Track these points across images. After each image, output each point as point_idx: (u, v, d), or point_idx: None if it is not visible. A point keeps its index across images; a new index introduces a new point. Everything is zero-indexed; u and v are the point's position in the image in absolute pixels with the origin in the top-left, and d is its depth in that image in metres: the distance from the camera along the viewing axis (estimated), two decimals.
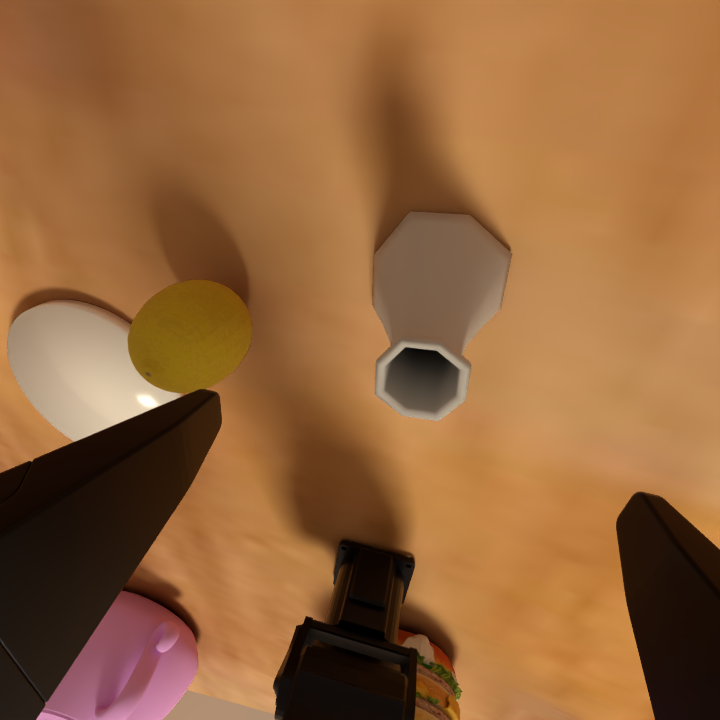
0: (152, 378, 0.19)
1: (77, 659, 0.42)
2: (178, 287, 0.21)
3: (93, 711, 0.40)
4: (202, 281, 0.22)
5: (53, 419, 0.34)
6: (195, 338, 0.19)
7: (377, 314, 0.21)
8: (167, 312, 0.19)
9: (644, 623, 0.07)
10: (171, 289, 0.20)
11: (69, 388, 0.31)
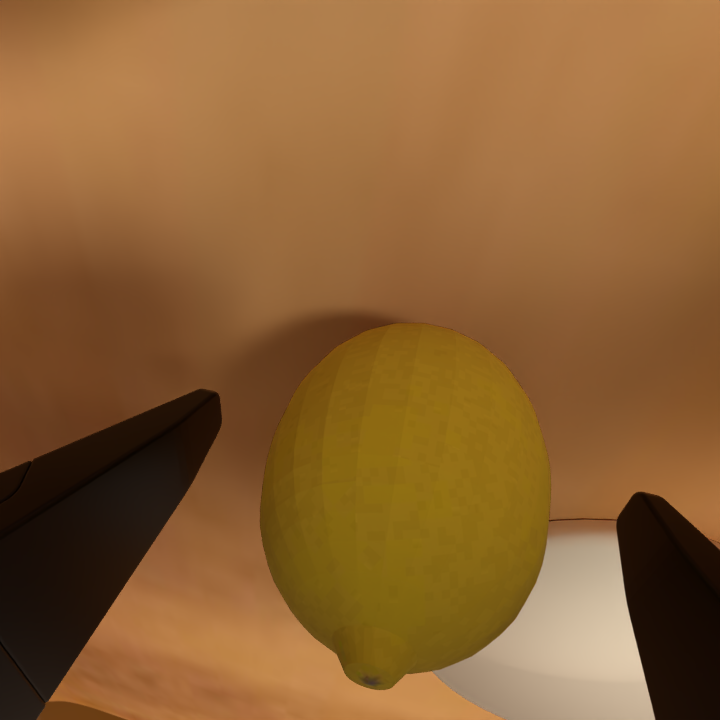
0: (387, 678, 0.05)
1: None
2: None
3: None
4: None
5: None
6: (307, 483, 0.06)
7: None
8: (261, 515, 0.07)
9: (644, 623, 0.07)
10: None
11: (580, 688, 0.17)
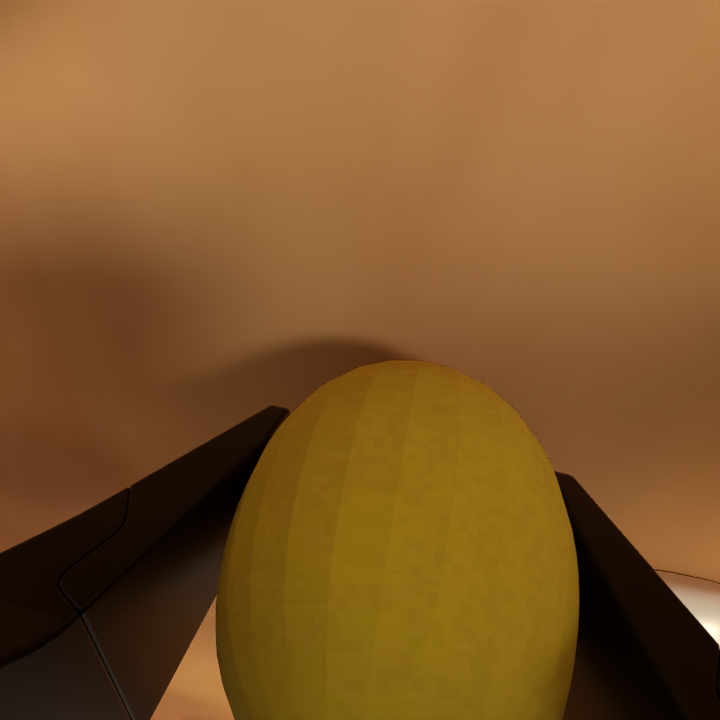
0: None
1: None
2: None
3: None
4: None
5: None
6: (267, 596, 0.05)
7: None
8: None
9: None
10: None
11: None
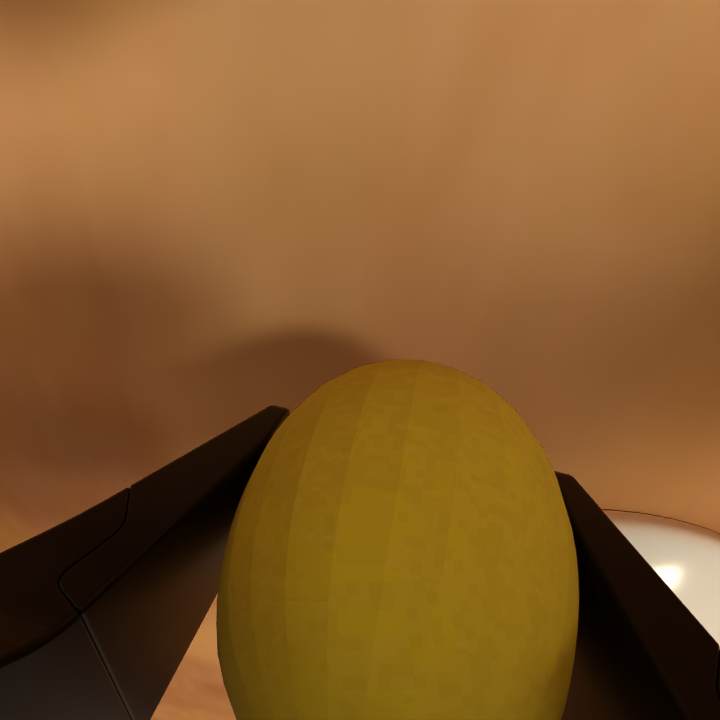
0: None
1: None
2: None
3: None
4: None
5: None
6: (267, 594, 0.05)
7: None
8: None
9: None
10: None
11: None
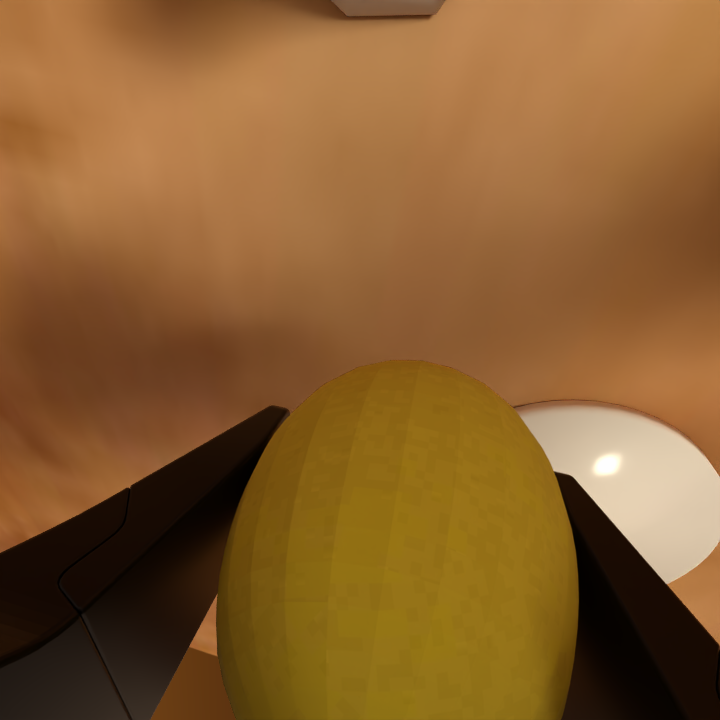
0: None
1: None
2: None
3: None
4: None
5: None
6: (267, 596, 0.05)
7: None
8: (217, 613, 0.06)
9: None
10: None
11: None
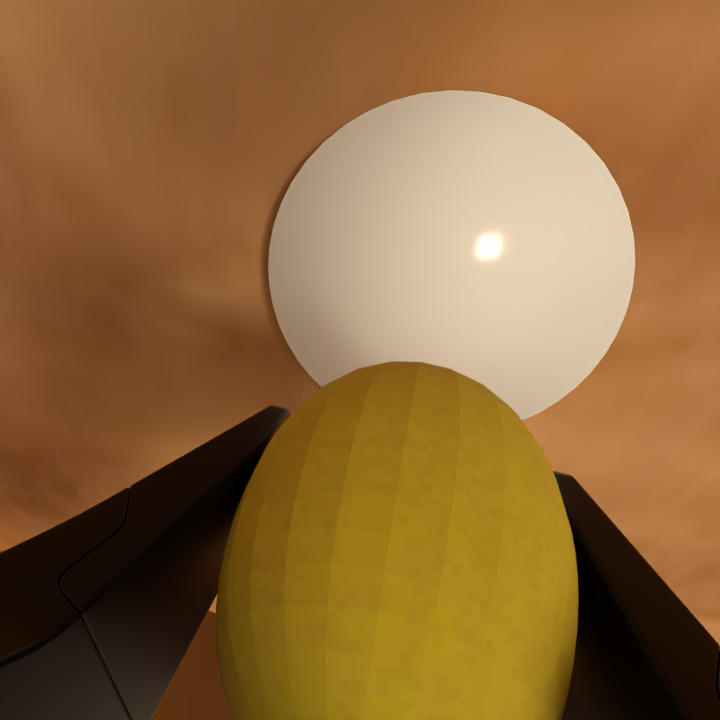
0: None
1: None
2: None
3: None
4: None
5: None
6: (267, 598, 0.05)
7: None
8: None
9: None
10: None
11: (429, 346, 0.18)
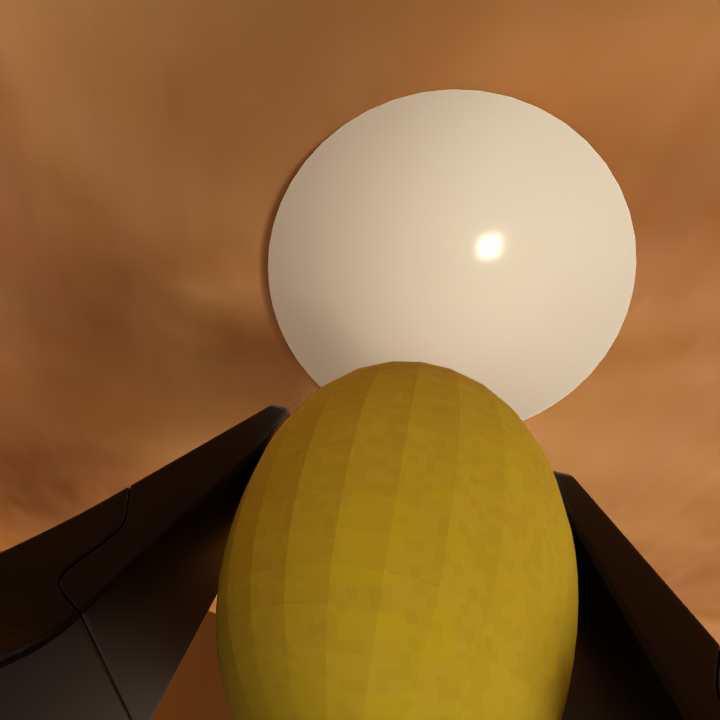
0: None
1: None
2: None
3: None
4: None
5: None
6: (267, 597, 0.05)
7: None
8: None
9: None
10: None
11: (429, 347, 0.18)
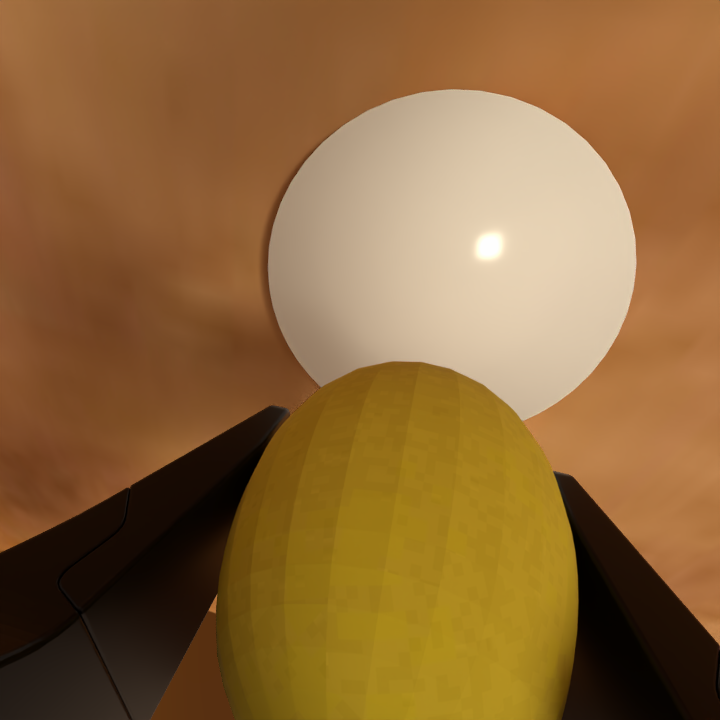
0: None
1: None
2: None
3: None
4: None
5: None
6: (267, 597, 0.05)
7: None
8: None
9: None
10: None
11: (429, 347, 0.18)
